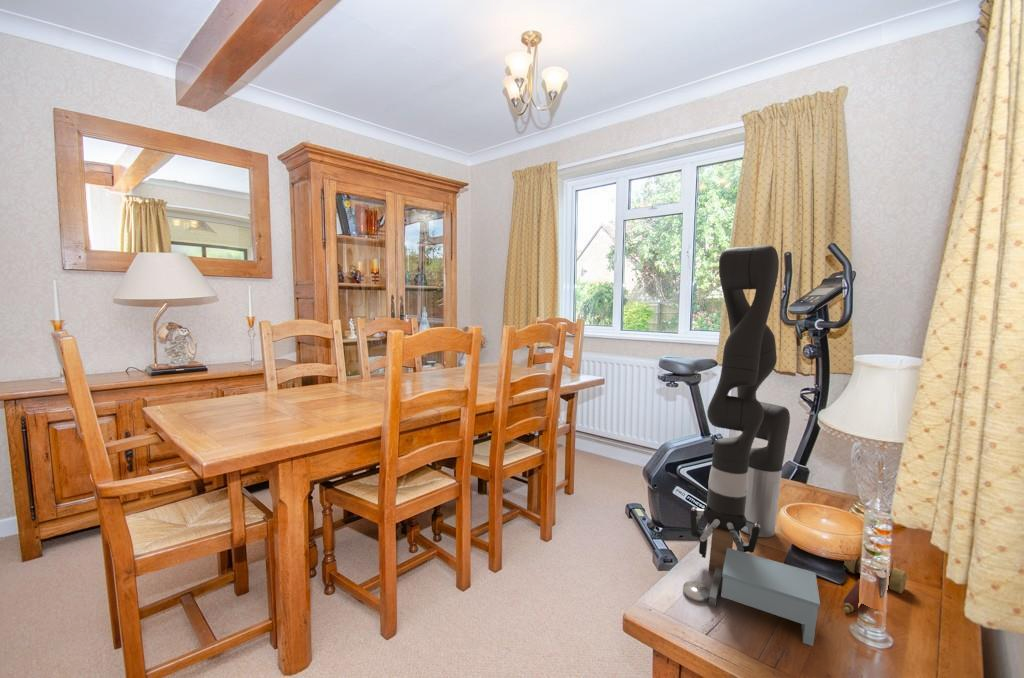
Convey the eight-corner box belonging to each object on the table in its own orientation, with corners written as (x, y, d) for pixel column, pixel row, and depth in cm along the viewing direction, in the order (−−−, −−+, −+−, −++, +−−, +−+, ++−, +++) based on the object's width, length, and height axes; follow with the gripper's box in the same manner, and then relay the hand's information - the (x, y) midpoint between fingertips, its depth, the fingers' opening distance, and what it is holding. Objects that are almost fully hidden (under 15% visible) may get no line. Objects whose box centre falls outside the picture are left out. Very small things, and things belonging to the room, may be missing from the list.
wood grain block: (710, 562, 104) (714, 520, 103) (730, 568, 102) (734, 525, 101) (700, 603, 90) (705, 555, 89) (722, 611, 88) (728, 562, 87)
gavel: (879, 615, 84) (817, 586, 92) (876, 637, 85) (815, 607, 93) (908, 568, 97) (851, 546, 105) (905, 588, 98) (849, 565, 106)
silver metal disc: (685, 584, 96) (685, 578, 96) (710, 593, 94) (711, 586, 94) (680, 598, 92) (681, 591, 92) (707, 607, 89) (708, 600, 89)
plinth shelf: (723, 583, 96) (727, 547, 95) (810, 612, 89) (815, 572, 88) (718, 613, 87) (722, 573, 86) (814, 647, 80) (820, 604, 79)
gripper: (765, 490, 99) (757, 563, 101) (694, 474, 106) (688, 542, 108) (765, 503, 92) (756, 581, 94) (689, 485, 99) (682, 558, 101)
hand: (720, 560), depth 101 cm, fingers open, 6 cm apart
